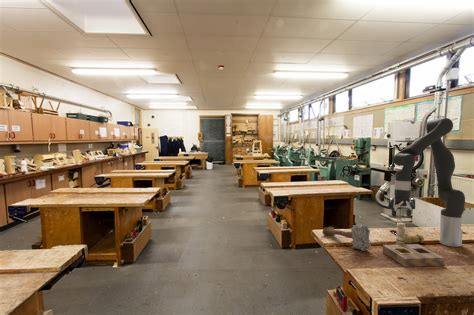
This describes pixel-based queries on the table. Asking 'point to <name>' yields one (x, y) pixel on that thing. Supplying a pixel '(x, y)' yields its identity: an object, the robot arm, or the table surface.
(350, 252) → the table surface
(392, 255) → the walnut board
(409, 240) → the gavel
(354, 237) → the hammer
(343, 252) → the table surface
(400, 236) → the birch peg
